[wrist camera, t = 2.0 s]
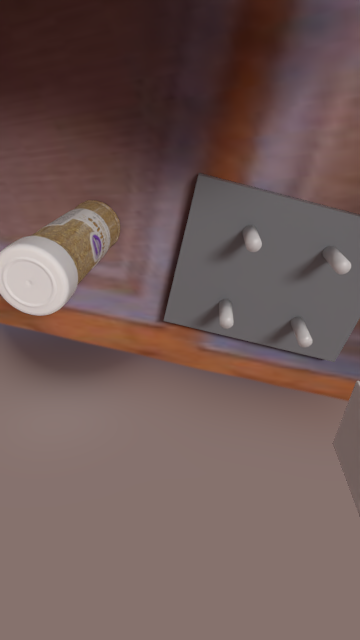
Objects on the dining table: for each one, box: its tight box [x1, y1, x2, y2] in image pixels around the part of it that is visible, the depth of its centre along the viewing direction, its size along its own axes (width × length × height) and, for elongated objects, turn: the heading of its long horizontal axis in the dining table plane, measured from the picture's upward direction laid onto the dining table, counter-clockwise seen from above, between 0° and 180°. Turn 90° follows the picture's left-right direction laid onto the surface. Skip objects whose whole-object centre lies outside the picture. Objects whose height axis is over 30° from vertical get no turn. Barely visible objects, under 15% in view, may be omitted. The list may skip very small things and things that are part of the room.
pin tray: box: [164, 173, 360, 362], centre depth 30 cm, size 18×14×5 cm
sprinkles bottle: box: [0, 200, 120, 316], centre depth 26 cm, size 5×5×13 cm
